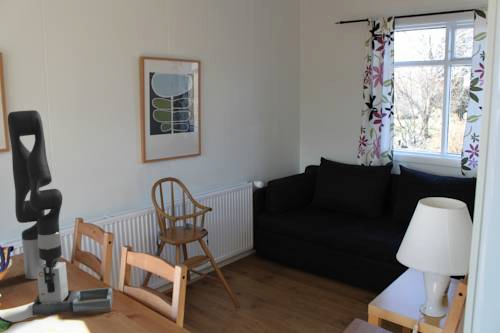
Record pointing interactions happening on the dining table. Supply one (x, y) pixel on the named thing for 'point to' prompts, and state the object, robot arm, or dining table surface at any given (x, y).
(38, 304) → the socket
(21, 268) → the dining table surface
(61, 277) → the small box
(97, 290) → the frame
